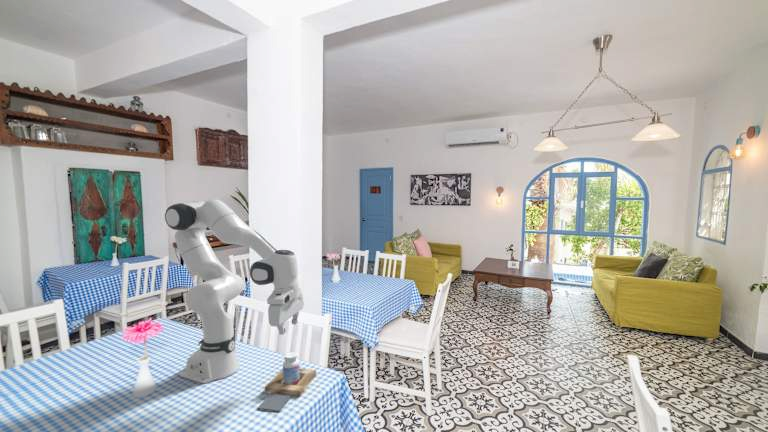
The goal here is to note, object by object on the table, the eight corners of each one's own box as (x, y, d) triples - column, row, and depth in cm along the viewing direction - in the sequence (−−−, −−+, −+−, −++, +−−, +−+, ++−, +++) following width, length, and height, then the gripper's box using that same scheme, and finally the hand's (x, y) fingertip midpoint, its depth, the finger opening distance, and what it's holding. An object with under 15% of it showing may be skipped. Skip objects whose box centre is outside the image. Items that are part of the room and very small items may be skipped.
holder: (265, 392, 115) (264, 387, 115) (284, 371, 128) (284, 366, 128) (300, 396, 112) (300, 391, 112) (316, 374, 126) (316, 370, 126)
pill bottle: (295, 388, 117) (294, 359, 116) (280, 387, 118) (279, 358, 117) (302, 379, 123) (301, 351, 122) (288, 378, 124) (287, 350, 123)
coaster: (257, 409, 105) (257, 407, 105) (270, 394, 113) (270, 393, 113) (279, 412, 104) (279, 410, 104) (291, 397, 112) (291, 395, 112)
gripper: (292, 285, 129) (294, 318, 130) (264, 301, 109) (266, 339, 110) (306, 285, 128) (308, 318, 128) (280, 301, 108) (282, 340, 108)
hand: (288, 328), depth 119 cm, fingers open, 8 cm apart
